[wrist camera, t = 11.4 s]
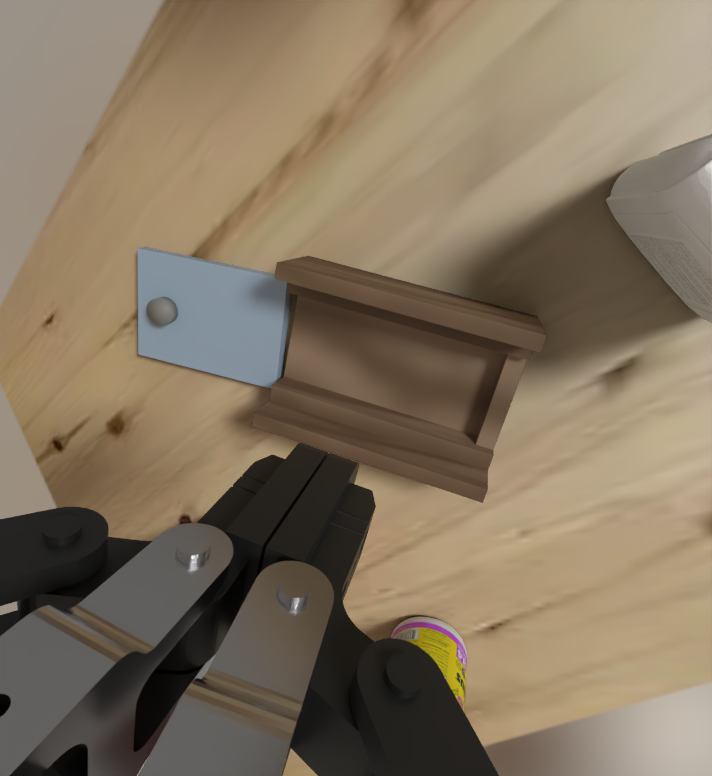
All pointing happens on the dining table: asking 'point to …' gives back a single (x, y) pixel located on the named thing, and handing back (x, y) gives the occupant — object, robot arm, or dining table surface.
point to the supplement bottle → (439, 649)
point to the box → (398, 374)
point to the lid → (212, 316)
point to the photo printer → (672, 218)
